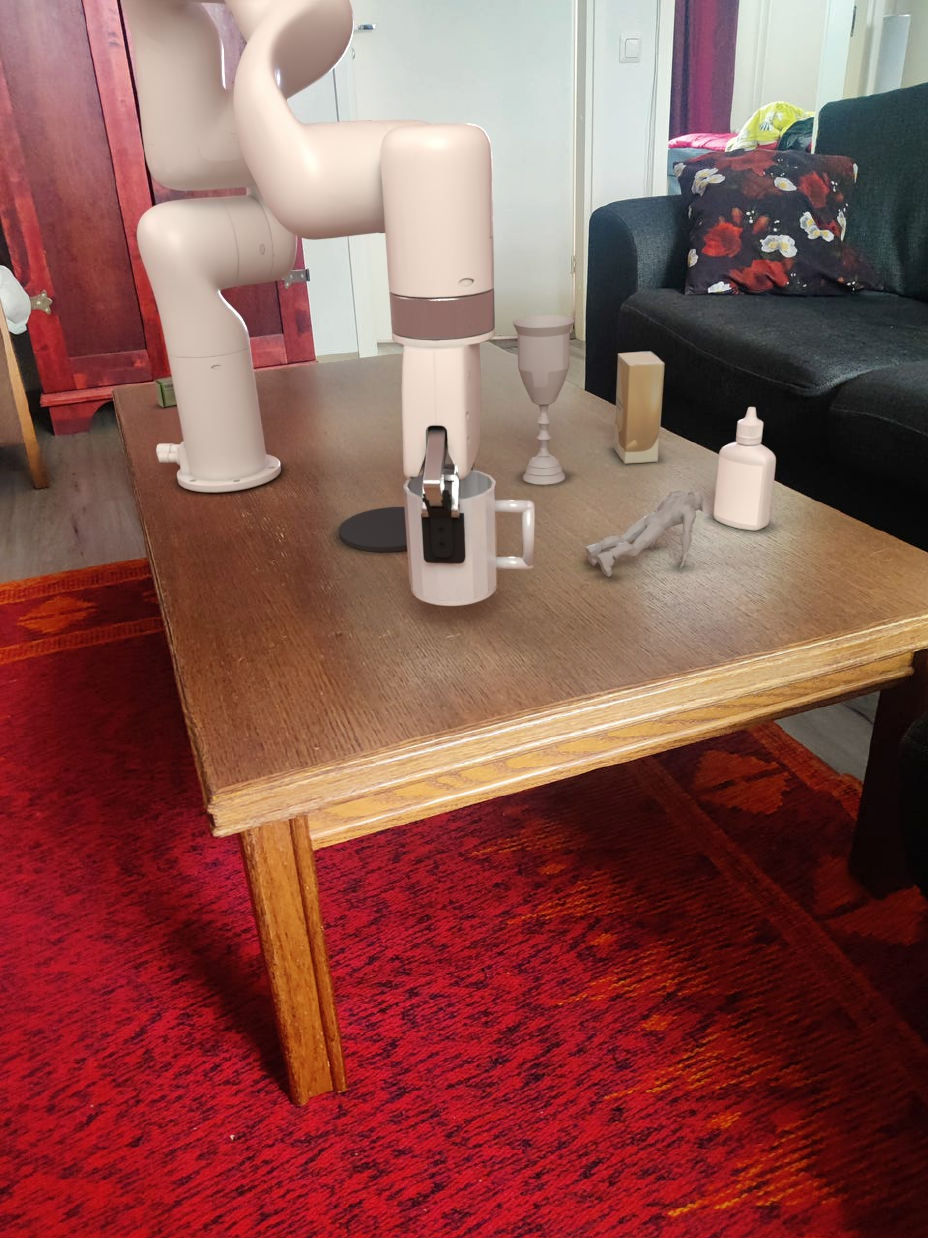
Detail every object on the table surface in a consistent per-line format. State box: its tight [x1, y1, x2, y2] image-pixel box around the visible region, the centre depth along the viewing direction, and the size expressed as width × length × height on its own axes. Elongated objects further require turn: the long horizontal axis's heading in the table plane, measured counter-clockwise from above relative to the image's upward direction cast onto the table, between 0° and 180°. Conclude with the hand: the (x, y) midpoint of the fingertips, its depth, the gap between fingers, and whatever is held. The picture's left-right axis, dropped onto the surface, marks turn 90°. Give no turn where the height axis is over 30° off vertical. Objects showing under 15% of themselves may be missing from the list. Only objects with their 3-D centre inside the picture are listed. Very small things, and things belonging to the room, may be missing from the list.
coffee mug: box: [402, 468, 536, 607], centre depth 77 cm, size 10×7×9 cm
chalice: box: [512, 314, 575, 485], centre depth 109 cm, size 7×7×18 cm
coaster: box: [338, 506, 407, 553], centre depth 100 cm, size 11×11×1 cm
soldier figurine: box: [584, 490, 705, 578], centre depth 89 cm, size 6×5×12 cm
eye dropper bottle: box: [713, 406, 777, 532], centre depth 95 cm, size 4×6×12 cm
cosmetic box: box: [613, 351, 665, 465], centre depth 116 cm, size 6×4×12 cm
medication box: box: [153, 376, 177, 409], centre depth 152 cm, size 12×3×4 cm, turn 126°
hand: (451, 539), depth 77 cm, fingers closed on coffee mug, 7 cm apart
